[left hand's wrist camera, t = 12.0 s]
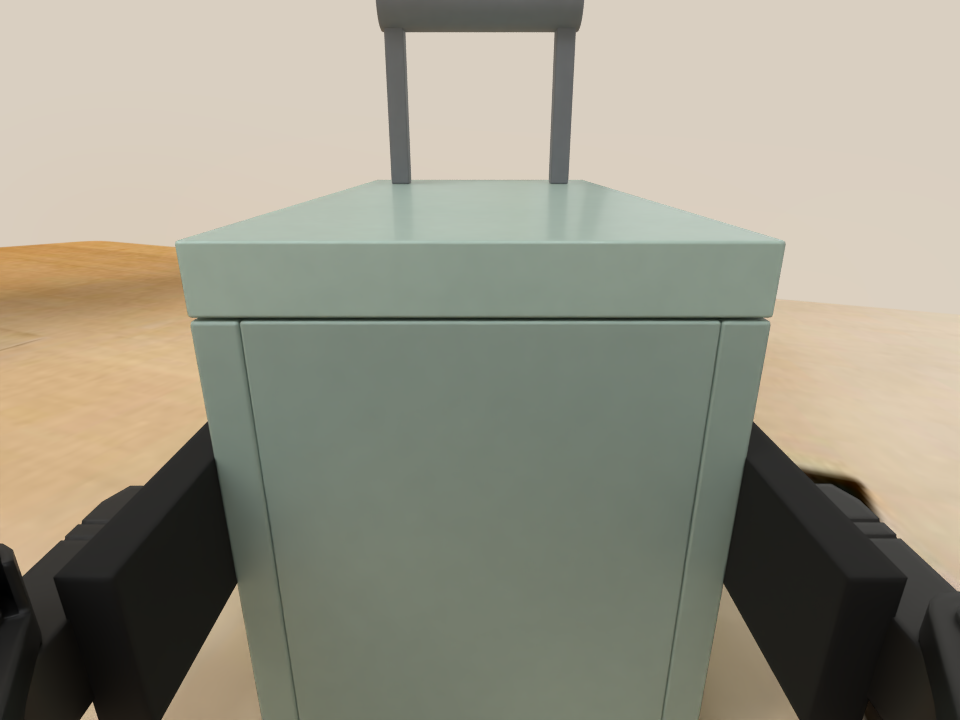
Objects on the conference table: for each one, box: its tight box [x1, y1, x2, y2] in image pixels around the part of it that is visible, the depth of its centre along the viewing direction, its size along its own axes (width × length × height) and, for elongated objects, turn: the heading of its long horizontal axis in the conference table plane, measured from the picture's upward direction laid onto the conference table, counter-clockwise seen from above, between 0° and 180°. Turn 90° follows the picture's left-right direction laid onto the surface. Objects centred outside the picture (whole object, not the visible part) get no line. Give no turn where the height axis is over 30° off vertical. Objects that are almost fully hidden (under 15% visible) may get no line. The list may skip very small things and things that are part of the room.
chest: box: [191, 318, 770, 720], centre depth 19 cm, size 17×9×10 cm, turn 0°
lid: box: [175, 0, 785, 318], centre depth 16 cm, size 18×9×8 cm, turn 0°
